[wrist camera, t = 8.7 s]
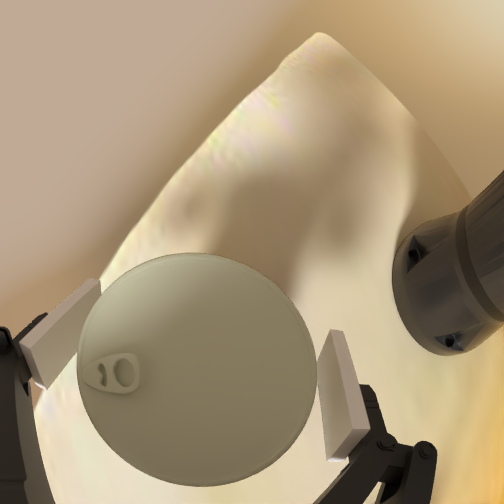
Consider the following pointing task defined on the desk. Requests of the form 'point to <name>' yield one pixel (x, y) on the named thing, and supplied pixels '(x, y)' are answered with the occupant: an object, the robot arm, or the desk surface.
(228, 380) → the can
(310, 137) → the desk surface
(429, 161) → the desk surface
